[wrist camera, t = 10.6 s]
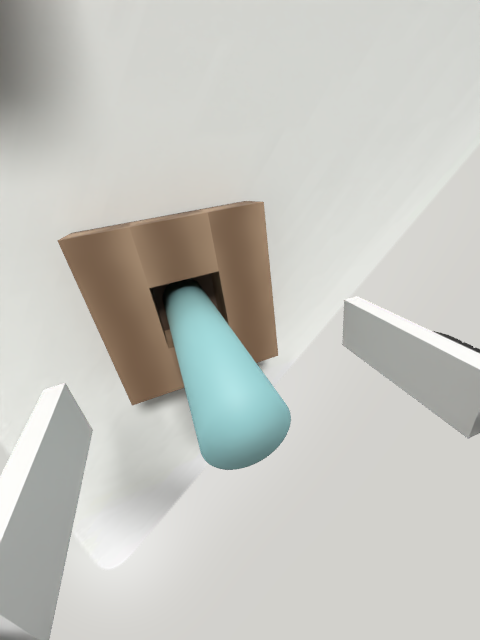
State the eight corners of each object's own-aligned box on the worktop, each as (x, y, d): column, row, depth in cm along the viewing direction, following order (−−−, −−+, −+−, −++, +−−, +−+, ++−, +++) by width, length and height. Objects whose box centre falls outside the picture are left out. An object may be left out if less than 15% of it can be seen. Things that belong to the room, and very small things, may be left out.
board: (244, 201, 20) (263, 201, 17) (261, 336, 25) (278, 355, 22) (71, 233, 17) (57, 240, 14) (132, 377, 23) (132, 405, 20)
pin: (199, 273, 20) (287, 380, 8) (207, 310, 22) (293, 447, 10) (157, 283, 20) (189, 416, 8) (169, 321, 21) (210, 482, 9)
